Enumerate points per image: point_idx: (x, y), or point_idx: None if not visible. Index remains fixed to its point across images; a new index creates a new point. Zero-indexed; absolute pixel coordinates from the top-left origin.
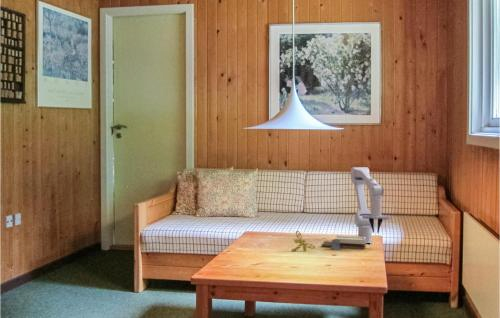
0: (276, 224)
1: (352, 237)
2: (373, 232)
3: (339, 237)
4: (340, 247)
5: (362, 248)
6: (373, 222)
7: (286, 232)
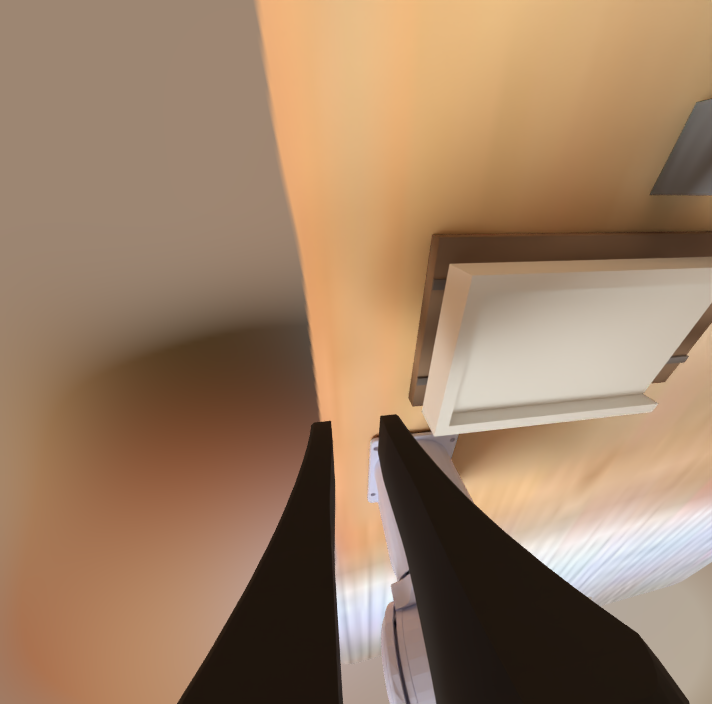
0: (643, 572)
1: (536, 410)
2: (386, 415)
3: (625, 397)
4: (634, 233)
5: (454, 236)
6: (482, 620)
7: (685, 508)
